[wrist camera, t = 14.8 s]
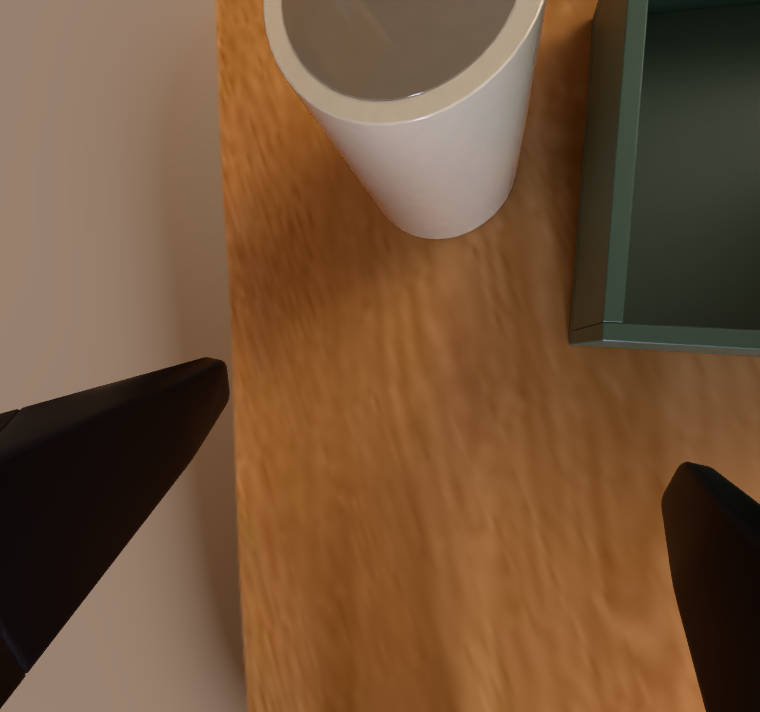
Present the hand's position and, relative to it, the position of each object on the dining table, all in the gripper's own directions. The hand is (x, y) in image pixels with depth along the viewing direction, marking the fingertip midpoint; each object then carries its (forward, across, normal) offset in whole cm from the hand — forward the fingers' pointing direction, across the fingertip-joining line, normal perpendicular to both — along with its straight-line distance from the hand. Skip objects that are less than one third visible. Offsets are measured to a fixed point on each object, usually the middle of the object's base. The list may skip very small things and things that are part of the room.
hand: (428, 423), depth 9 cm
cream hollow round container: (+16, +3, -4) cm, 16 cm away
